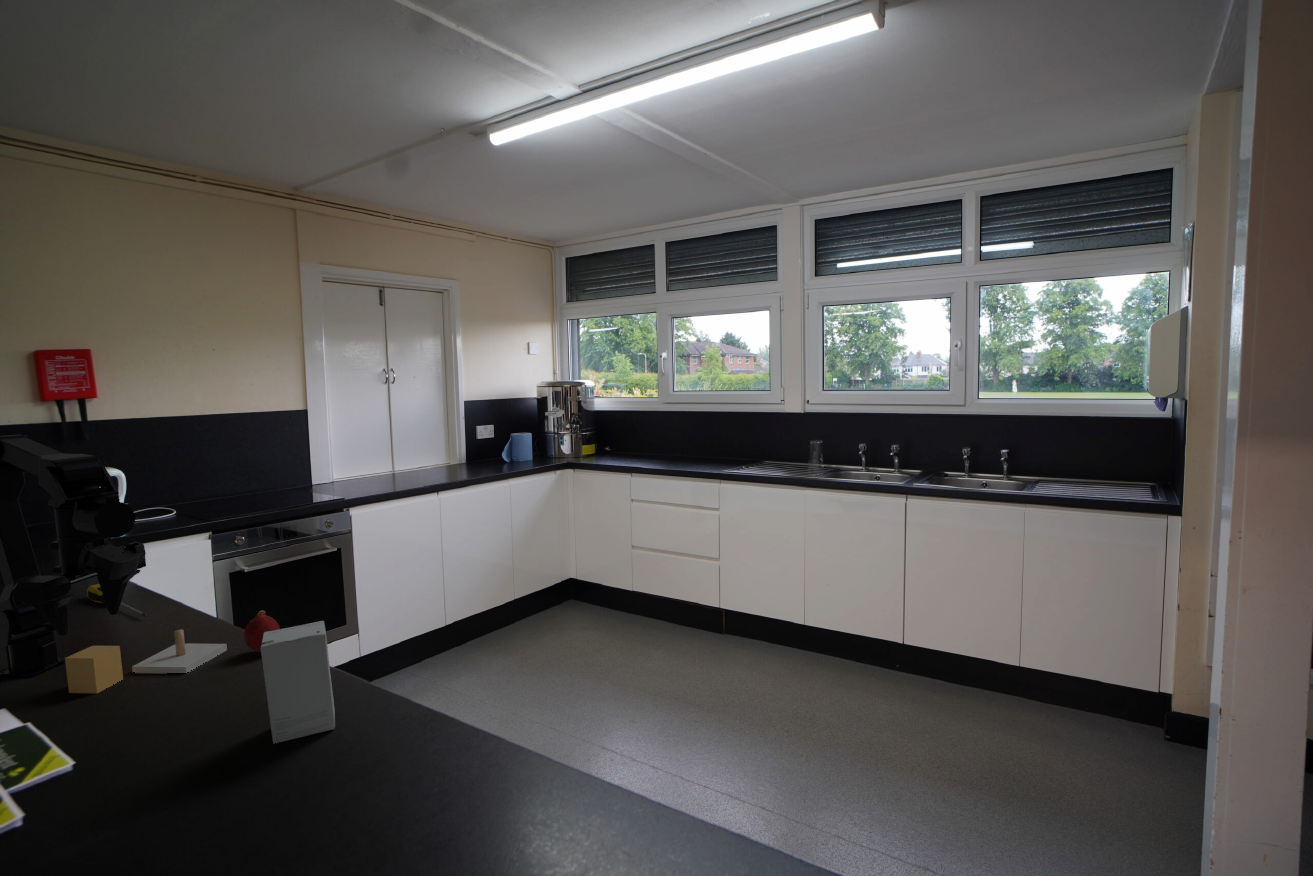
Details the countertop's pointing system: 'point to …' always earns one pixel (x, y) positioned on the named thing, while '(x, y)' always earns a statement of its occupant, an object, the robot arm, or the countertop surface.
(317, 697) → the skincare box
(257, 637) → the onion
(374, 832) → the countertop surface
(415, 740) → the countertop surface
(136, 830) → the countertop surface
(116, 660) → the cardboard carton
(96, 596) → the screwdriver
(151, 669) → the post plate
